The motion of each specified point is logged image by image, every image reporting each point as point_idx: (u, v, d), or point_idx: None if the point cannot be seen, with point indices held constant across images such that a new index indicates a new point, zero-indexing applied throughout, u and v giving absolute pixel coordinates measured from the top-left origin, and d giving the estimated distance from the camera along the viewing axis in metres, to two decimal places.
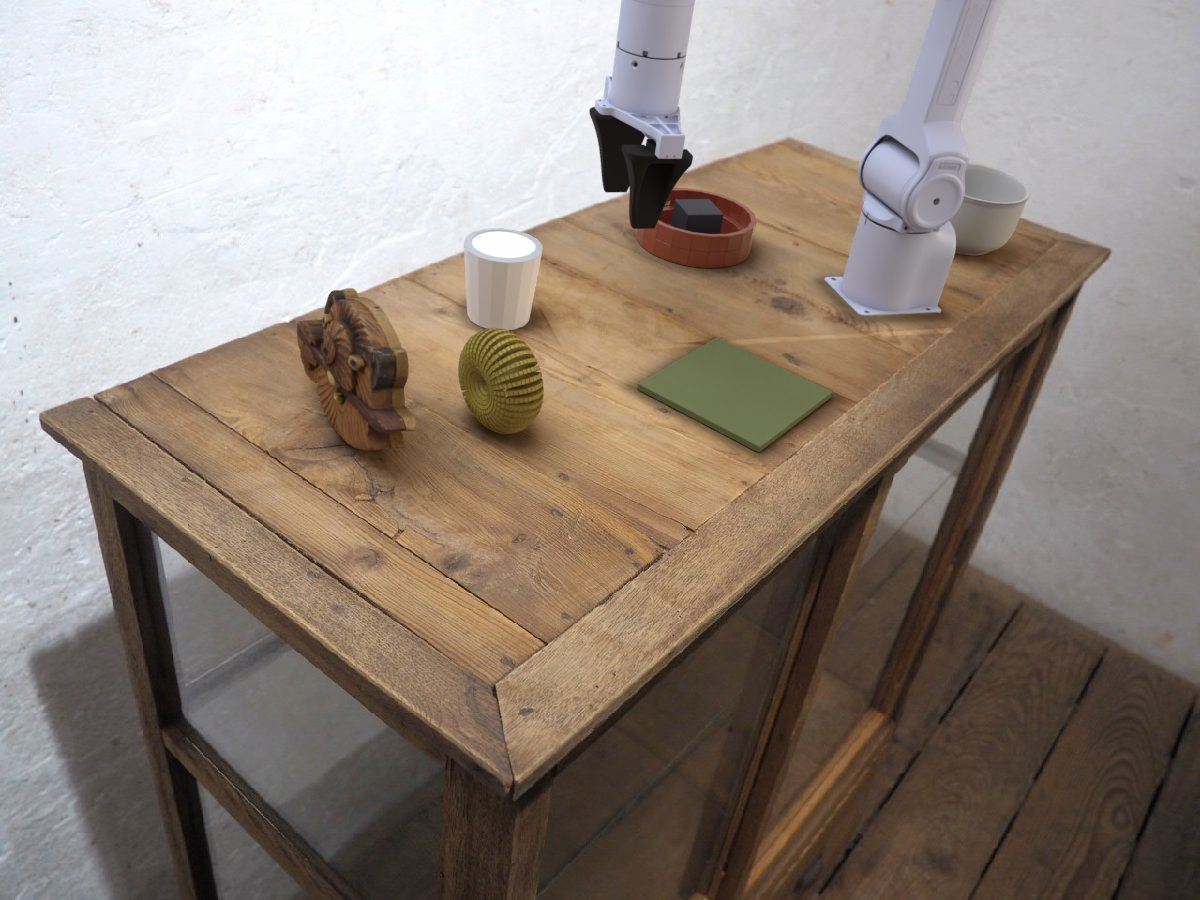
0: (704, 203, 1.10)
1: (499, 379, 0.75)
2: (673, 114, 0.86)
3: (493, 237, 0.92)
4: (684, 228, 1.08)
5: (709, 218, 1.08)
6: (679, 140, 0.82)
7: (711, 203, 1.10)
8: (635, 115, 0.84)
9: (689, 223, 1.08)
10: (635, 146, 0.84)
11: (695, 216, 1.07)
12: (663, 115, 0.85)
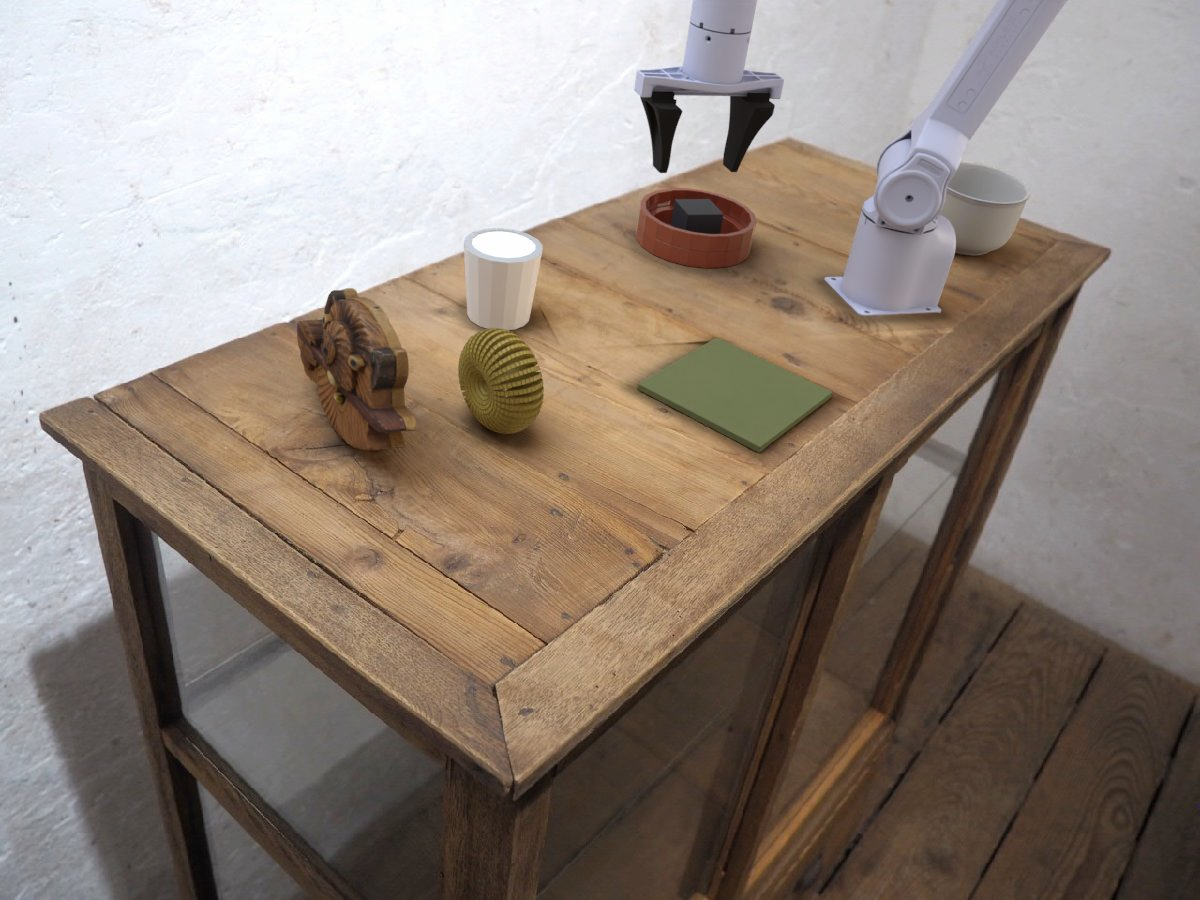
0: (704, 203, 1.10)
1: (499, 379, 0.75)
2: (696, 80, 0.96)
3: (493, 237, 0.92)
4: (684, 228, 1.08)
5: (709, 218, 1.08)
6: (641, 79, 0.96)
7: (711, 203, 1.10)
8: (680, 69, 0.99)
9: (689, 223, 1.08)
10: None
11: (695, 216, 1.07)
12: (687, 76, 0.97)
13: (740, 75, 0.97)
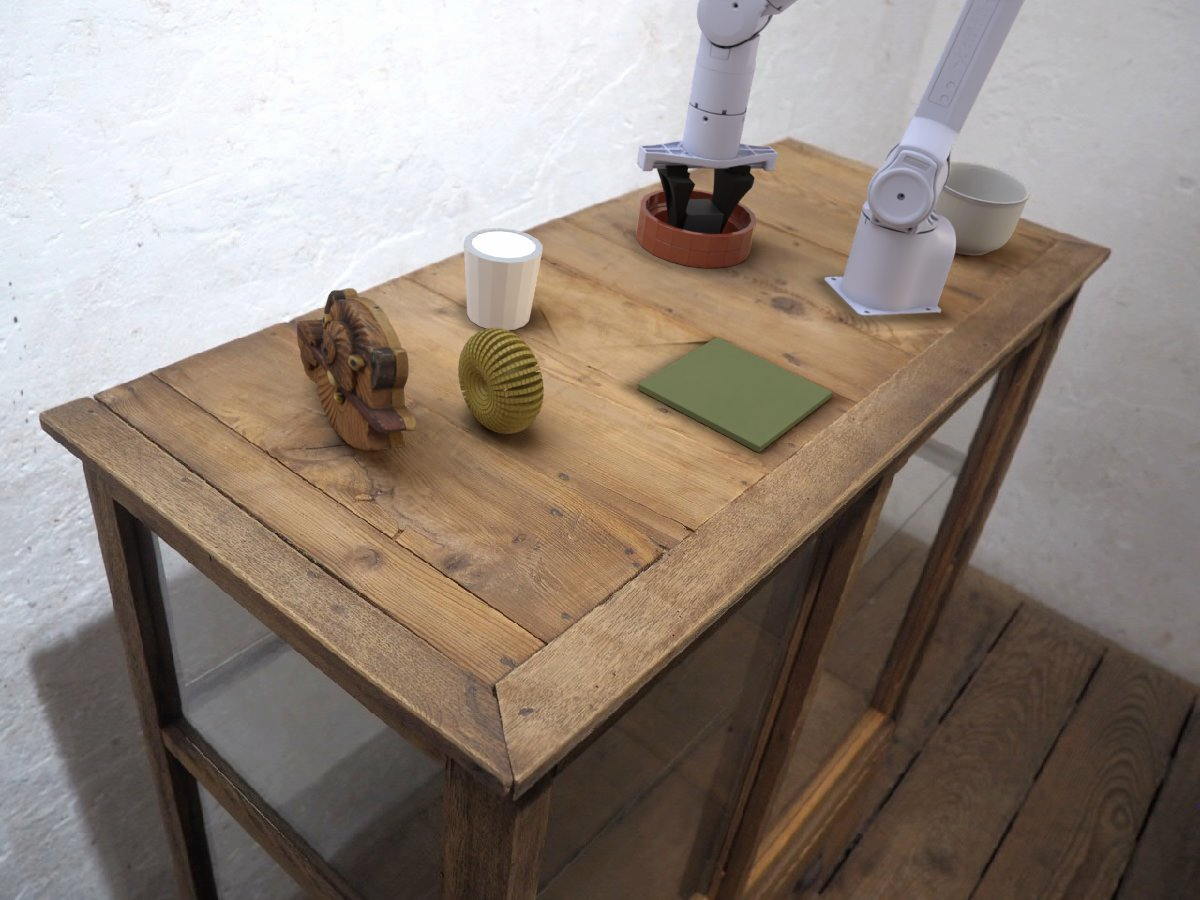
0: (704, 203, 1.10)
1: (499, 379, 0.75)
2: (694, 156, 1.04)
3: (493, 237, 0.92)
4: (684, 228, 1.08)
5: (709, 218, 1.08)
6: (643, 154, 1.03)
7: (711, 203, 1.10)
8: (680, 144, 1.06)
9: (689, 223, 1.08)
10: None
11: (695, 216, 1.07)
12: (686, 151, 1.04)
13: (736, 151, 1.04)
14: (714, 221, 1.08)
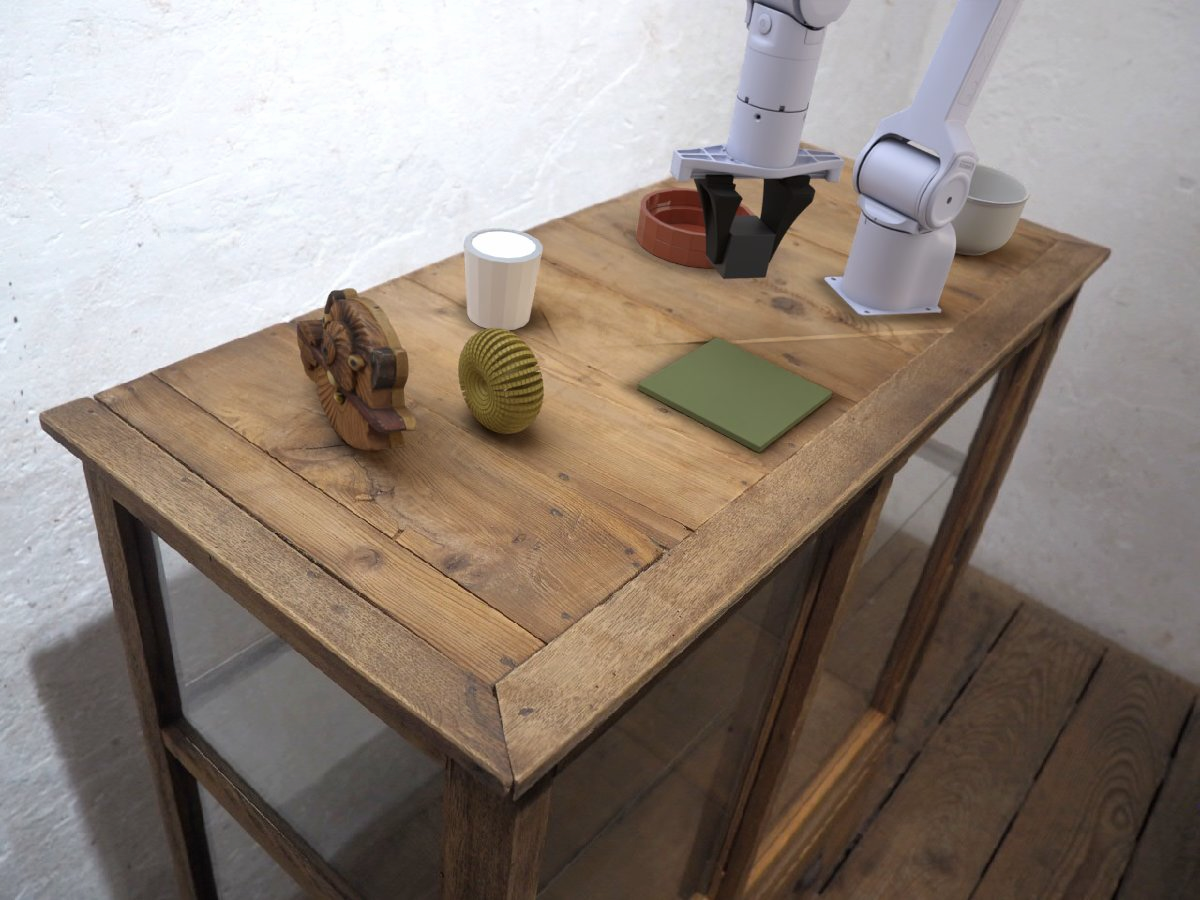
0: (751, 221, 0.89)
1: (499, 379, 0.75)
2: (742, 163, 0.83)
3: (493, 237, 0.92)
4: (726, 252, 0.88)
5: (758, 240, 0.87)
6: (679, 161, 0.83)
7: (759, 221, 0.90)
8: (723, 148, 0.85)
9: (733, 245, 0.87)
10: None
11: (741, 238, 0.87)
12: (732, 157, 0.84)
13: (794, 157, 0.84)
14: (764, 243, 0.88)
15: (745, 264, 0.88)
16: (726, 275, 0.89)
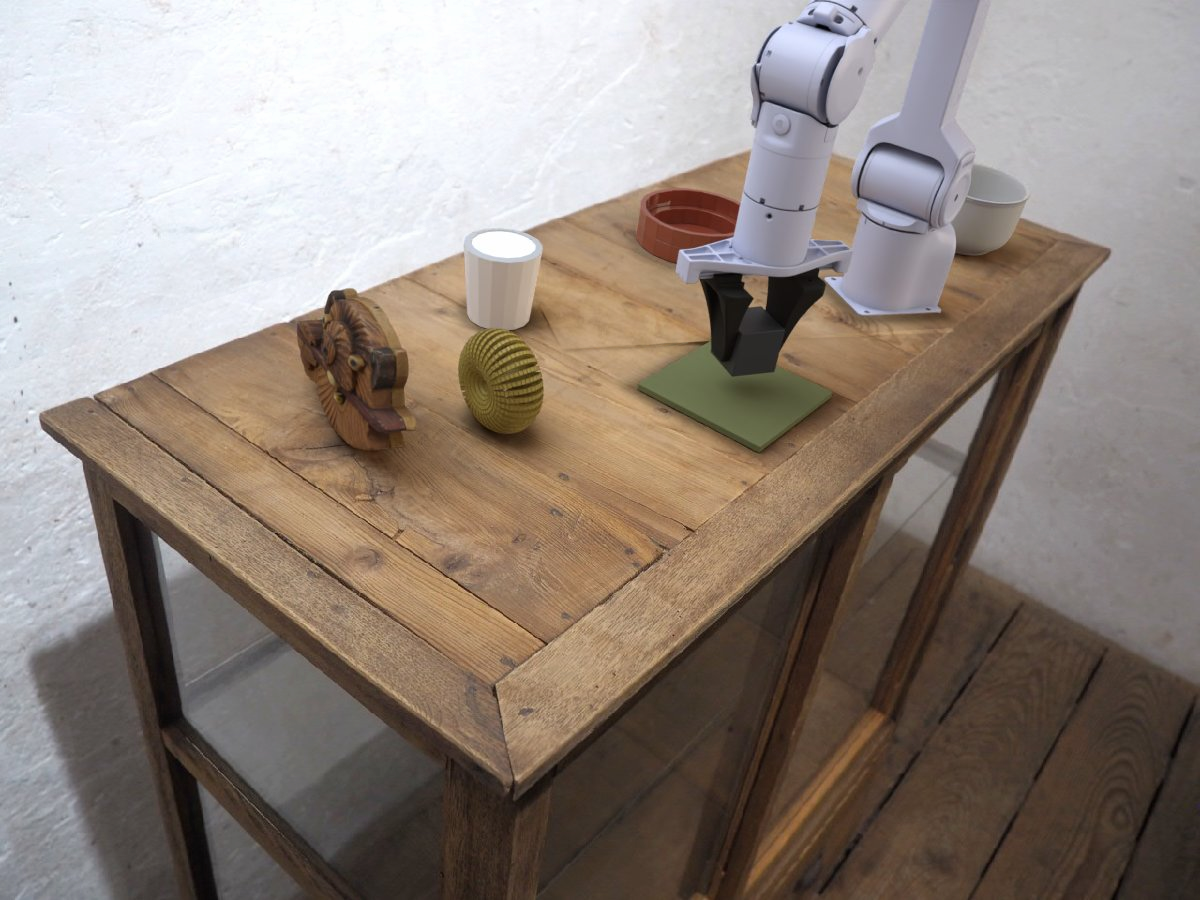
0: (757, 314, 0.85)
1: (499, 379, 0.75)
2: (752, 262, 0.79)
3: (493, 237, 0.92)
4: (735, 350, 0.83)
5: (767, 336, 0.83)
6: (686, 263, 0.78)
7: (765, 313, 0.86)
8: (729, 244, 0.81)
9: (742, 343, 0.83)
10: None
11: (750, 335, 0.83)
12: (741, 256, 0.79)
13: (805, 253, 0.80)
14: (773, 339, 0.84)
15: (754, 360, 0.84)
16: (735, 373, 0.84)
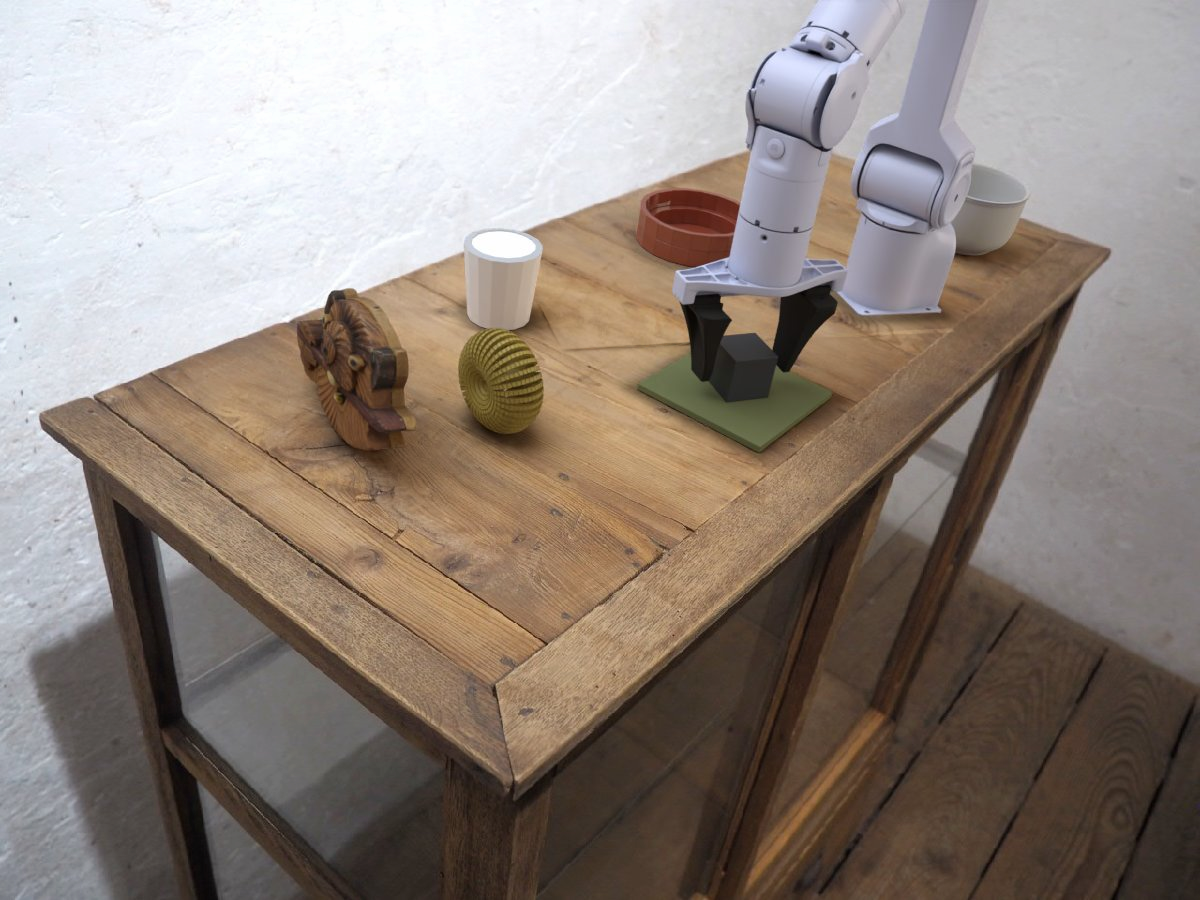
0: (751, 340, 0.87)
1: (499, 379, 0.75)
2: (748, 283, 0.80)
3: (493, 237, 0.92)
4: (729, 376, 0.85)
5: (761, 363, 0.85)
6: (683, 284, 0.79)
7: (759, 339, 0.87)
8: (725, 264, 0.82)
9: (736, 370, 0.84)
10: None
11: (744, 362, 0.84)
12: (737, 276, 0.80)
13: (799, 274, 0.81)
14: (767, 365, 0.85)
15: (748, 386, 0.86)
16: (729, 399, 0.86)
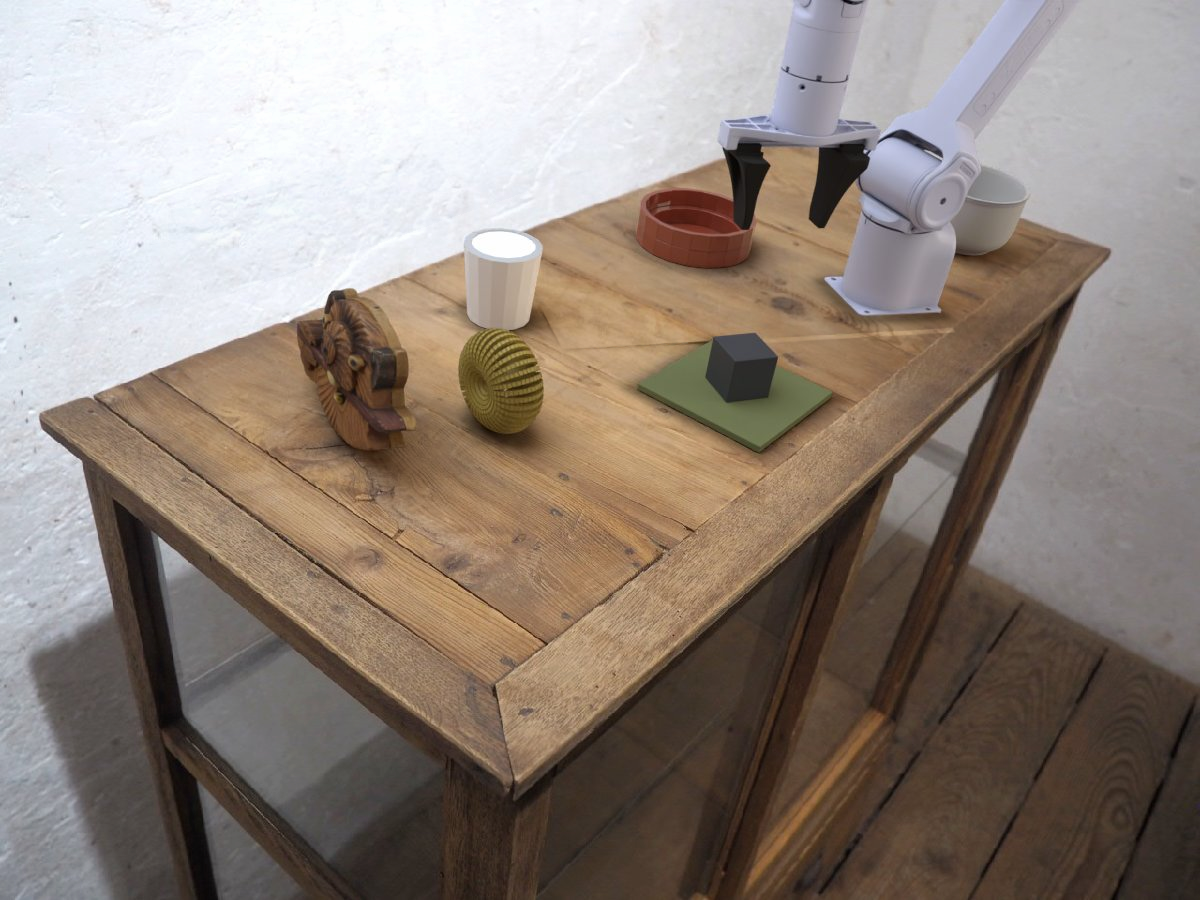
0: (751, 340, 0.87)
1: (499, 379, 0.75)
2: (786, 131, 0.88)
3: (493, 237, 0.92)
4: (729, 376, 0.85)
5: (761, 363, 0.85)
6: (727, 130, 0.87)
7: (759, 339, 0.87)
8: (767, 118, 0.90)
9: (736, 370, 0.84)
10: None
11: (744, 362, 0.84)
12: (777, 127, 0.88)
13: (835, 126, 0.88)
14: (767, 365, 0.85)
15: (748, 386, 0.86)
16: (729, 399, 0.86)
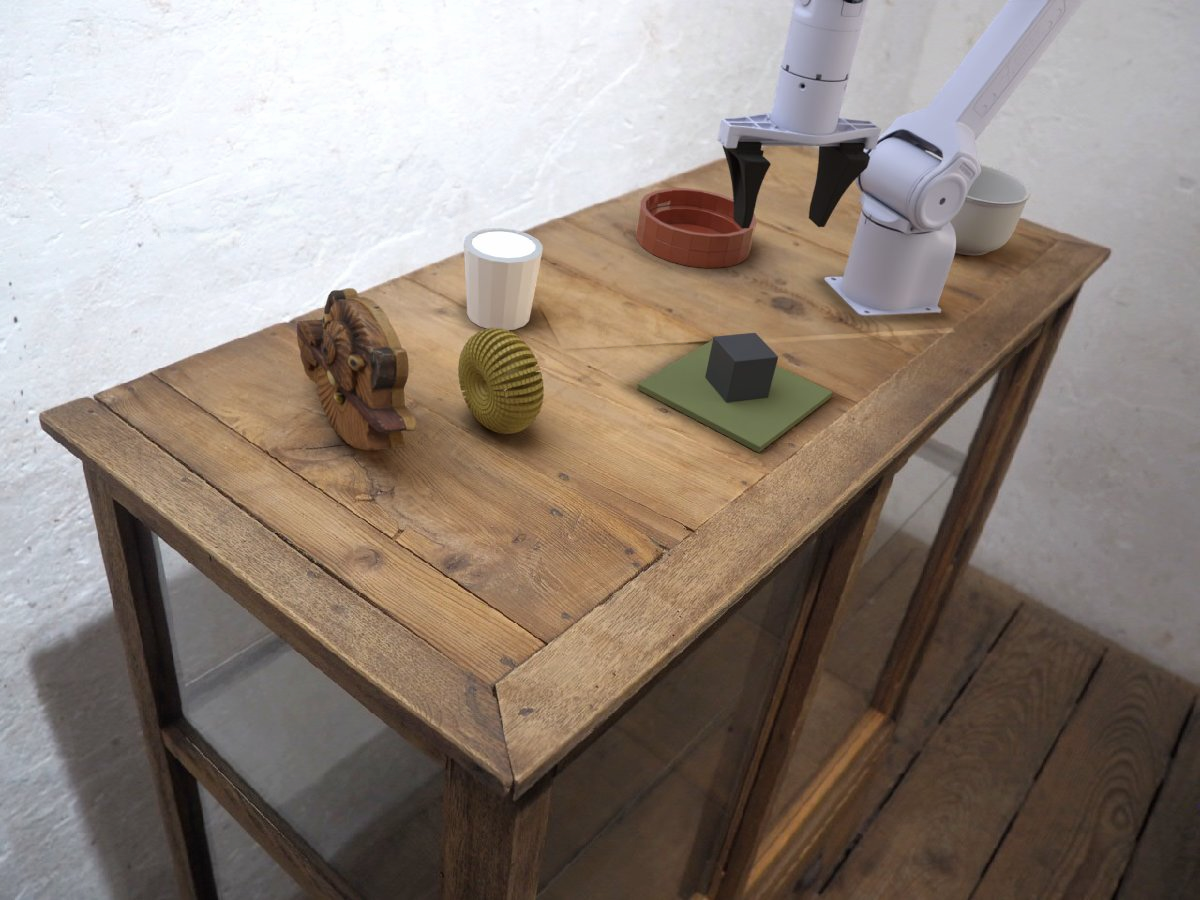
0: (751, 340, 0.87)
1: (499, 379, 0.75)
2: (786, 130, 0.88)
3: (493, 237, 0.92)
4: (729, 376, 0.85)
5: (761, 363, 0.85)
6: (727, 128, 0.88)
7: (759, 339, 0.87)
8: (767, 117, 0.90)
9: (736, 370, 0.84)
10: None
11: (744, 362, 0.84)
12: (777, 125, 0.89)
13: (834, 125, 0.89)
14: (767, 365, 0.85)
15: (748, 386, 0.86)
16: (729, 399, 0.86)
